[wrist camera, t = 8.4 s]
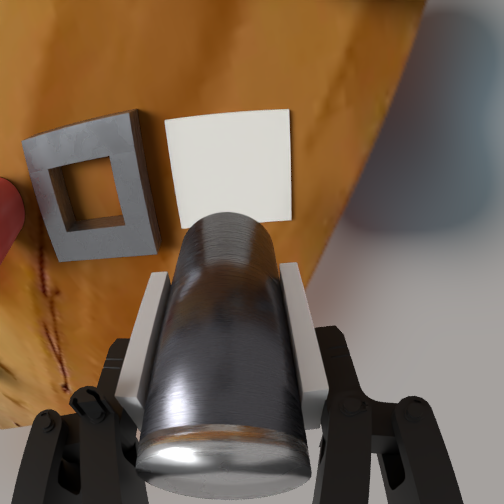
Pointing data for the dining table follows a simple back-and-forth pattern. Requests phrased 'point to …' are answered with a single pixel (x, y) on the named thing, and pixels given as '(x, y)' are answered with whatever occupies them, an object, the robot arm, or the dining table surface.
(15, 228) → the flower pot
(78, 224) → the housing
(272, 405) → the metal cylinder
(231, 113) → the pad
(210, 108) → the dining table surface
